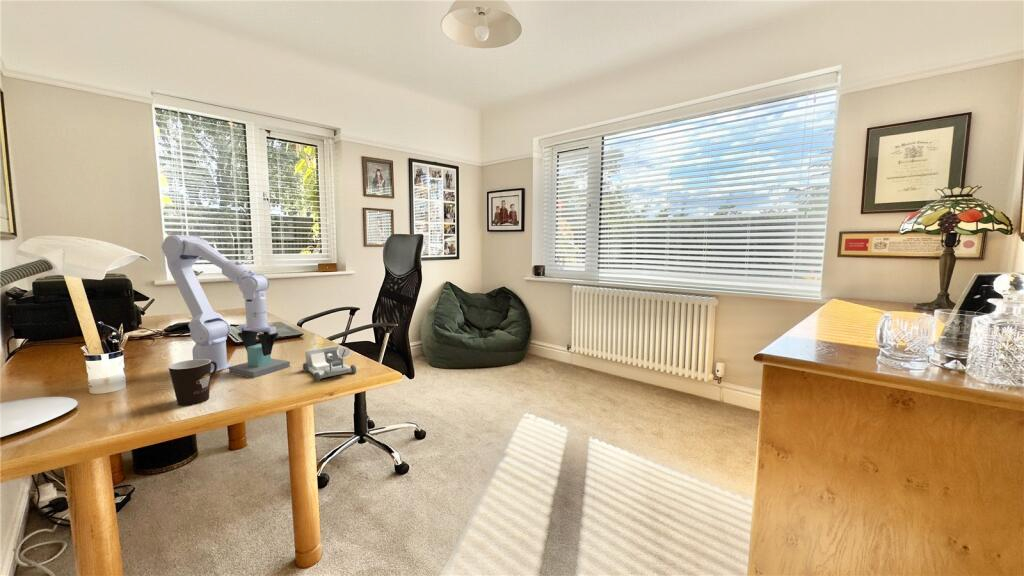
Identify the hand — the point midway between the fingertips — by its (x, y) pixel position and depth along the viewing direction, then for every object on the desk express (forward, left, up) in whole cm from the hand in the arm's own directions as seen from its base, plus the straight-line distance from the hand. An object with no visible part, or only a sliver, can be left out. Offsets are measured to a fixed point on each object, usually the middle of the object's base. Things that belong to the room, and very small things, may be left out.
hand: (259, 353), depth 128 cm
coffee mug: (+9, -23, -6) cm, 25 cm away
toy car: (+24, +6, -6) cm, 25 cm away
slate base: (0, 0, -6) cm, 6 cm away
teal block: (0, 0, -3) cm, 4 cm away
